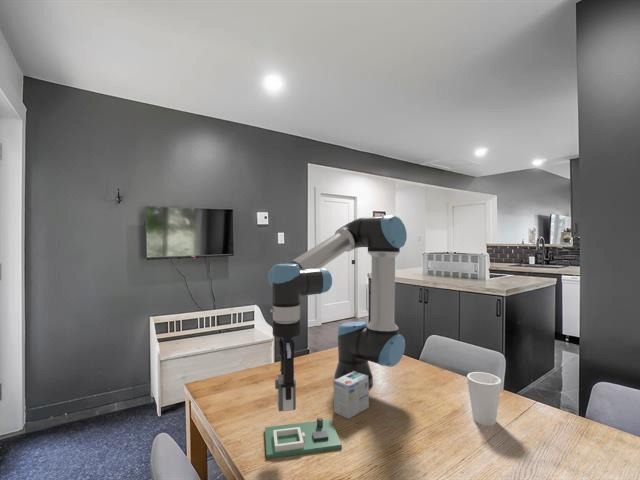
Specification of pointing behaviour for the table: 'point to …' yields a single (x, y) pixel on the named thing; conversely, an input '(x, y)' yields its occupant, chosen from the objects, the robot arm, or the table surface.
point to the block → (280, 392)
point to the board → (301, 438)
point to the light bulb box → (351, 394)
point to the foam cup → (484, 396)
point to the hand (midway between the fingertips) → (287, 405)
